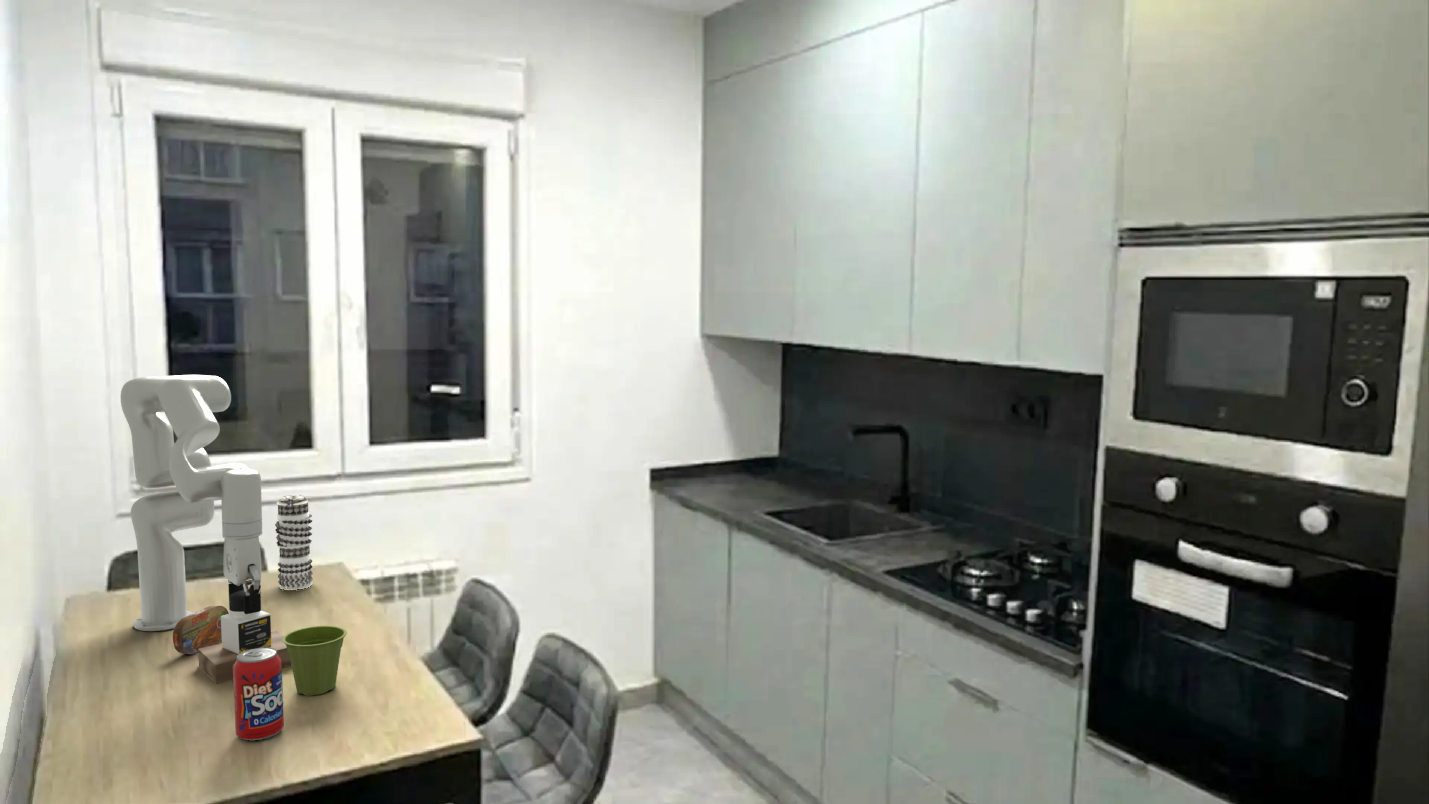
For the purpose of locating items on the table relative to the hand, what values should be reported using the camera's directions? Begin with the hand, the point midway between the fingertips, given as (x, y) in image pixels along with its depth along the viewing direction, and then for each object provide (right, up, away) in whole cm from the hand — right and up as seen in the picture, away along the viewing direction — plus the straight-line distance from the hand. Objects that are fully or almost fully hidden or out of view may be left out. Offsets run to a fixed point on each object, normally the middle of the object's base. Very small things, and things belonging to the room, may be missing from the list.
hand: (244, 606), depth 197 cm
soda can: (+18, -17, -30) cm, 39 cm away
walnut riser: (0, -13, +1) cm, 13 cm away
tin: (-15, -12, +11) cm, 22 cm away
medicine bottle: (0, -9, +1) cm, 9 cm away
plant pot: (+20, -15, -10) cm, 27 cm away
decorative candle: (-15, -7, +56) cm, 58 cm away
